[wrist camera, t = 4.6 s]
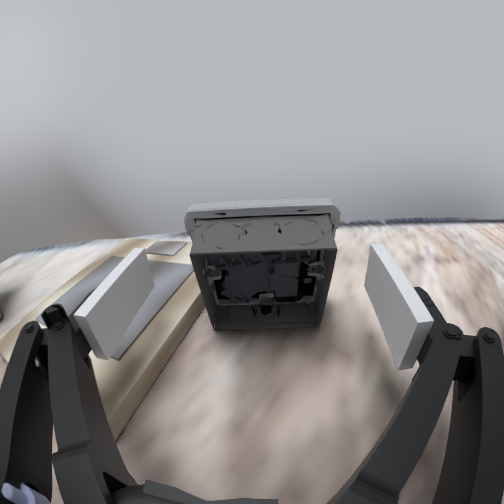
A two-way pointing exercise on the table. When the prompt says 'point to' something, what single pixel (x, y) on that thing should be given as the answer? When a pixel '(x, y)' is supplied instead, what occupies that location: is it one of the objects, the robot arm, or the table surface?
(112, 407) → the mounting board
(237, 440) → the table surface
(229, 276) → the electrical switch
